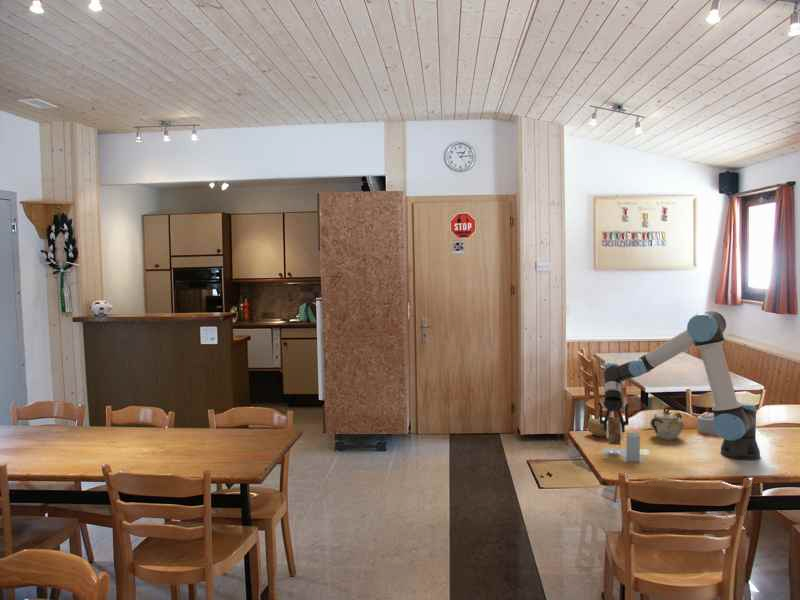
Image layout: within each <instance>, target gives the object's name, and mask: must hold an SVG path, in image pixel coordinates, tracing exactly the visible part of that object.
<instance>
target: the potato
mask: <svg viewBox="0 0 800 600" xmlns="http://www.w3.org/2000/svg"><path fill="white" fill-rule="evenodd" d="M587 428H588V429H587V430H588V431H589V432H590V433H591V434H592V435H593V436H595V437H599V438H600V437H603V438H607V431H604V425H603V424H600V418H595V417H594V418H590V419H588V420H587Z"/></svg>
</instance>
